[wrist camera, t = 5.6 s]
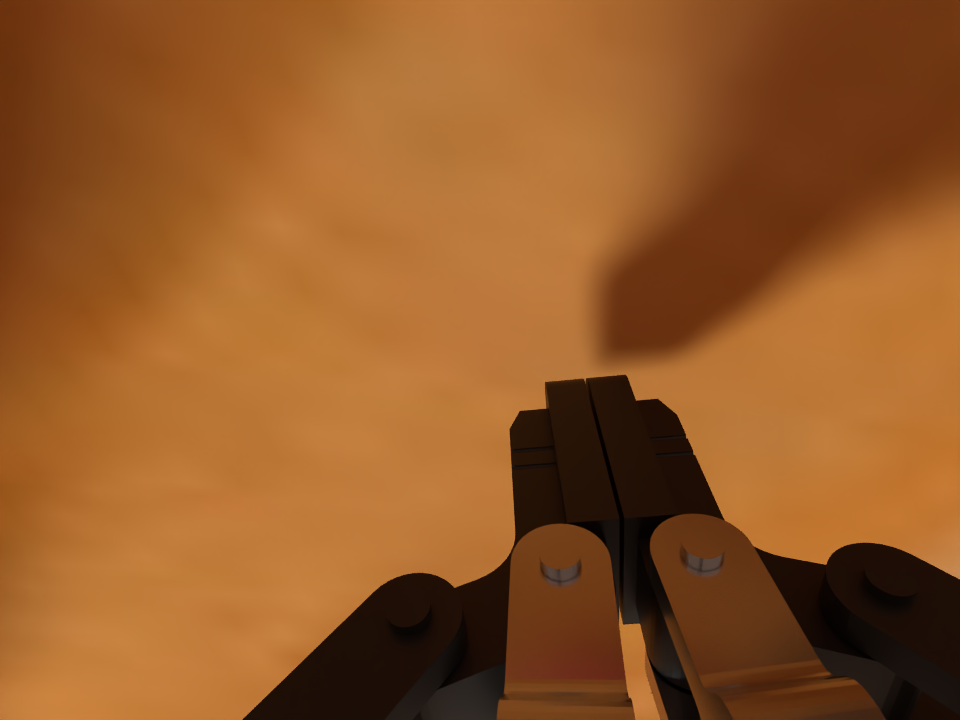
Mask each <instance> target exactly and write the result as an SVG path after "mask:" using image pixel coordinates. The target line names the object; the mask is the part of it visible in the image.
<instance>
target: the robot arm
mask: <svg viewBox="0 0 960 720" xmlns="http://www.w3.org/2000/svg"><path fill="white" fill-rule="evenodd" d="M545 395H546V409H538V410H527V411H520V412H519V414H518V415H517V417H516V419H515V421H514V422H513V424H512V426H511V428H510V445H511V462H512V480H513V497H514V515H515V542H514V546H513V548H512V551H511V553H510V554H509V556H508V557H507V559H506V560H505V561H504V562H503V563H502V564H501V565H500V566H499V567H498V568H497V569H496V570H494V571H493V572H491V573H490V574H488V575H486V576H484V577H482V578H480V579H477V580H475V581H472V582H469V583H467V584H464V585H461V586H459V587H456V588H454V587H453V586H452V585H451V584H450V583H449V582H447V581H446V580H445V579H443V578H440V577H438V576H435V575H432V574H426V573H412V574H406V575H403V576H399V577H396V578H394V579H392V580H390V581H388V582H386V583H385V584H383V585H382V586H380V587H379V588H378V589H377V590H376V591H375V592H373V593H372V594H371V595H370V596H369V597H368V598H367V599H366V600H365V601H364V602H363V603H362V604H361V605H360V606H359V607H358V608H357V609H356V610H355V611H354V612H353V613H352V614H351V615H350V616H349V617H348V618H347V619H346V620H345V621H344V622H343V623H342V624H340V625H339V626H338V627H337V628H336V629H335V630H334V631H333V632H332V633H331V634H330V635H329V636H328V637H327V638H326V639H325V640H324V641H323V642H322V643H321V644H320V645H319V646H318V647H317V648H316V649H315V650H314V651H313V652H312V653H311V654H310V655H309V656H308V657H307V658H305V659H304V660H303V661H302V662H301V663H300V664H299V665H298V666H297V667H296V668H295V669H294V670H293V671H292V672H291V673H290V674H289V675H288V676H287V677H286V678H285V679H284V680H283V681H282V682H281V683H280V684H279V685H278V686H277V687H276V688H275V689H274V690H273V691H271V692H270V693H269V694H268V695H267V696H266V697H265V698H264V699H263V700H262V701H261V702H260V703H259V704H258V705H257V706H256V707H255V708H254V709H253V710H252V711H251V712H250V713H249V714H248V715H247V716H246V717H245V718H244V719H243V720H635V714H634V709H633V704H632V700H631V698H629V696H628V692H627V685H626V678H625V670H624V662H623V654H622V646H621V638H620V630H619V608H620V612H621V617H622V621H623V624H638V623H640V625H641V629H642V633H643V638H644V642H645V671H646V675H647V678H648V682H649V685H650V688H651V691H652V694H653V697H654V701H655V704H656V707H657V710H658V713H659V716H660V720H960V579H958V578H956V577H954V576H952V575H950V574H948V573H946V572H944V571H942V570H940V569H938V568H937V567H935V566H933V565H931V564H929V563H927V562H925V561H923V560H921V559H919V558H917V557H915V556H913V555H911V554H909V553H907V552H905V551H902V550H900V549H897V548H894V547H890V546H886V545H882V544H875V543H856V544H850V545H847V546H844V547H842V548H840V549H838V550H837V551H835V552H834V553H833V554H832V555H831V556H830V558H829V559H828V562H827V565H824V564H818V563H813V562H808V561H802V560H797V559H791V558H786V557H781V556H777V555H773V554H770V553H768V552H765V551H762V550H760V549H758V548H756V547H754V546H753V545H752V543H751V542H750V540H749V539H748V538H747V537H746V535H745V534H744V533H743V532H742V531H740V530H739V529H738V528H736V527H735V526H733V525H732V524H730V523H728V522H726V521H725V520H724V518H723V516H722V514H721V512H720V510H719V507H718V505H717V503H716V501H715V499H714V496H713V494H712V492H711V490H710V487H709V485H708V483H707V481H706V478H705V476H704V474H703V472H702V470H701V467H700V465H699V463H698V461H697V458H696V456H695V455H694V454H693V449H692V447H691V445H690V443H689V441H688V438H687V439H686V434H685V432H684V429H683V427H682V425H681V423H680V420H679V418H678V416H677V414H675V413H674V412H673V411H672V410H671V409H669V408H668V407H667V406H666V405H665V404H663V403H662V402H661V401H660V400H659V399H650V400H639V401H636V399H635V397H634V394H633V391H632V388H631V386H630V383H629V380H628V378H627V376H626V375H617V376H606V377H595V378H586V384H585V381H584V379H574V380H563V381H552V382H545Z"/></svg>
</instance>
